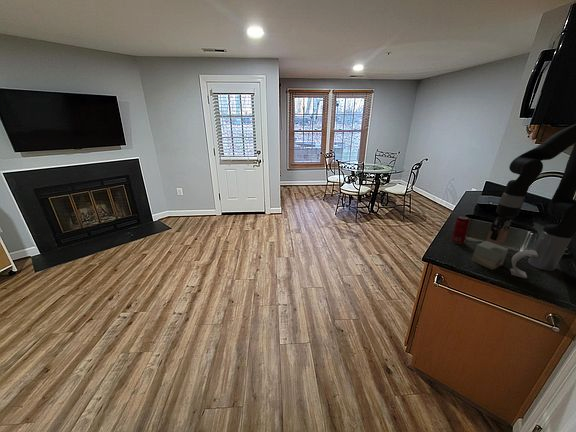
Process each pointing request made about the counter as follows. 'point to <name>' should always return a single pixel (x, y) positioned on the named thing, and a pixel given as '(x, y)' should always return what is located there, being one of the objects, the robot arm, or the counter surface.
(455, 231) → the beverage can
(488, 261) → the tower bottom
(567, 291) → the counter surface
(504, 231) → the terracotta block
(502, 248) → the tower top
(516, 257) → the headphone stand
